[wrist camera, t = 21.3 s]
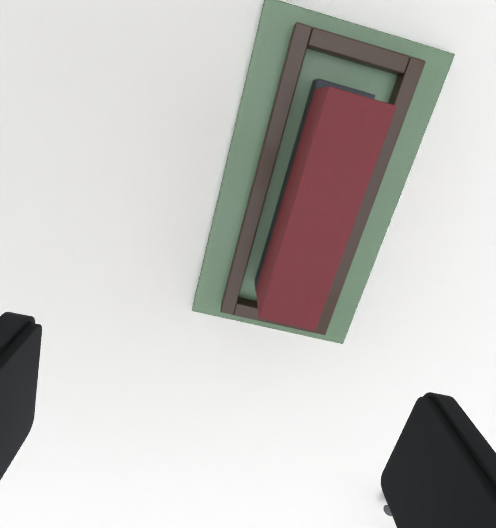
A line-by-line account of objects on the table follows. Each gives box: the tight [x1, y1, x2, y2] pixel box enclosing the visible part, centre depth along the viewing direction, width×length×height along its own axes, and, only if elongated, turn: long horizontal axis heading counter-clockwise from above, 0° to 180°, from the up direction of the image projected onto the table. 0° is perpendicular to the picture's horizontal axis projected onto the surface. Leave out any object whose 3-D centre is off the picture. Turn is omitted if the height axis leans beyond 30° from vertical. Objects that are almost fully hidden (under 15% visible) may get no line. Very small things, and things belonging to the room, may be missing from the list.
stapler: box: [255, 78, 397, 331], centre depth 26 cm, size 14×4×6 cm, turn 165°
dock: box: [192, 0, 455, 344], centre depth 28 cm, size 12×21×2 cm, turn 166°
